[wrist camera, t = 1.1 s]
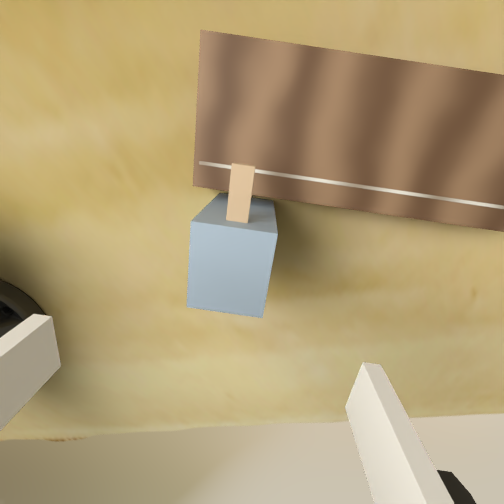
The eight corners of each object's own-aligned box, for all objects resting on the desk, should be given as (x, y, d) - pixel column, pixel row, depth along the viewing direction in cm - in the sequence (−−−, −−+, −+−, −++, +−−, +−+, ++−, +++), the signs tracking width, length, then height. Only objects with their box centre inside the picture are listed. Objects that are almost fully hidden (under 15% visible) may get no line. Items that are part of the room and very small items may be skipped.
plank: (202, 180, 28) (192, 186, 25) (210, 48, 24) (200, 29, 20) (472, 220, 29) (504, 232, 25) (532, 95, 24) (582, 86, 20)
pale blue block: (214, 250, 31) (186, 307, 20) (223, 154, 27) (193, 159, 16) (263, 257, 31) (262, 318, 20) (279, 162, 27) (288, 173, 16)
